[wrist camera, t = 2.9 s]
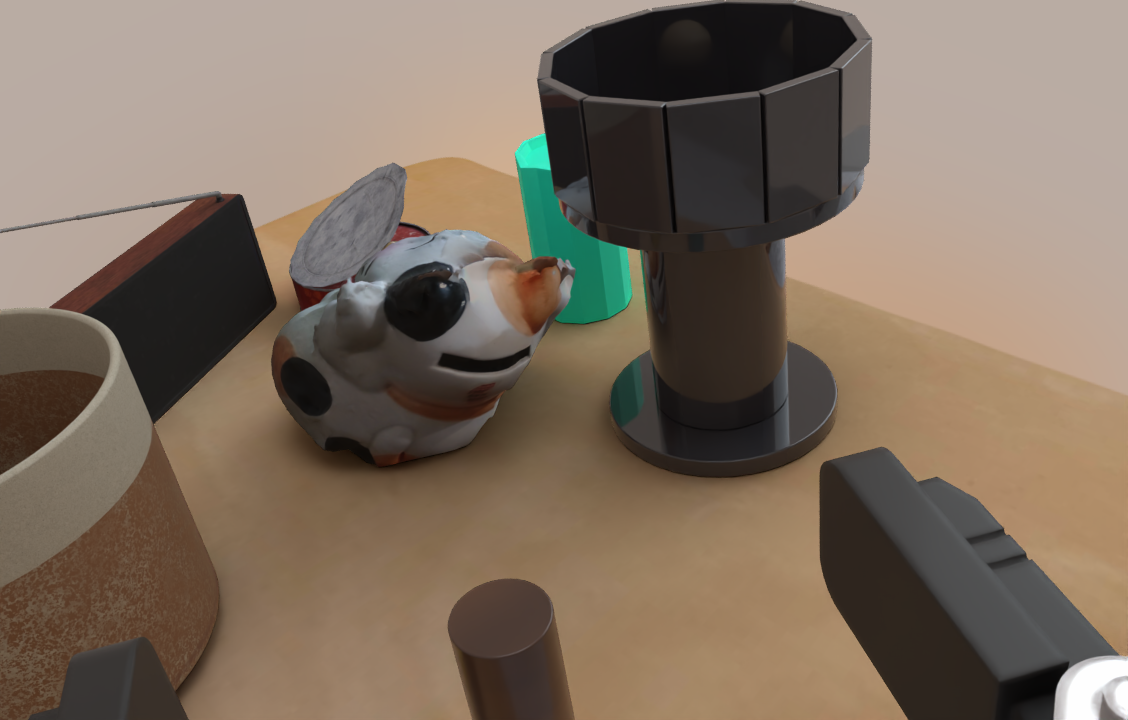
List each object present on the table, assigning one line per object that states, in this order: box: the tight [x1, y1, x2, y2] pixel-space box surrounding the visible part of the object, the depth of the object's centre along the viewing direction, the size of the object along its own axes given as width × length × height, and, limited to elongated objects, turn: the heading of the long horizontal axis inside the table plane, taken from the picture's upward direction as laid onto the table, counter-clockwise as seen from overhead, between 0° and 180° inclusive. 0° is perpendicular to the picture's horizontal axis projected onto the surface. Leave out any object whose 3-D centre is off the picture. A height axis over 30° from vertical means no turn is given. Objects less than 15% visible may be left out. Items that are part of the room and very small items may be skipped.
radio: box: [0, 191, 277, 424], centre depth 63 cm, size 19×3×15 cm, turn 161°
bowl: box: [537, 0, 872, 477], centre depth 52 cm, size 14×14×20 cm
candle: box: [515, 133, 632, 324], centre depth 66 cm, size 6×6×12 cm
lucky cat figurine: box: [271, 229, 576, 467], centre depth 57 cm, size 15×12×14 cm
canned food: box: [289, 163, 430, 311], centre depth 72 cm, size 11×10×10 cm
